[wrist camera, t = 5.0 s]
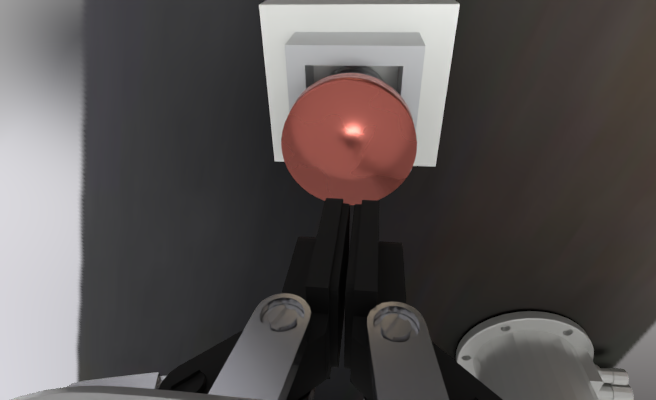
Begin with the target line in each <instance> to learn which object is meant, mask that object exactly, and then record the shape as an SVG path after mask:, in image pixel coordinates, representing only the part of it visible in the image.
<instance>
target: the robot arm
mask: <svg viewBox="0 0 656 400" xmlns="http://www.w3.org/2000/svg"><path fill="white" fill-rule="evenodd" d="M349 220H350V204H346V203H343V199H337V198H326V200H325V204H324V208H323V213H322V217H321V221H320V226H319V230H318V234H317V238H312V237H299V238H298V240H297V244H296V247H295V250H294V254H293V257H292V260H291V264H290V267H289V270H288V274H287V277H286V281H285V284H284V287H283V291H282V294H276V295H273V296H270V297H268V298H266V299H265V300H263V301H262V302H261V303H260V304H259V305H258V306H257V308H256V309H255V311H254V313H253V315H252V316H251V318H250V320H249V322H248V323H247V325H246V327H245V329H244V330H242V331H241V332H239V333H237V334H235V335H233V336H232V337H230V338H228V339H226V340H225V341H223V342H221V343H219V344H217V345H216V346H214V347H212V348H210V349H209V350H207V351H205V352H203V353H201V354H200V355H198V356H196V357H194V358H193V359H191V360H189V361H187V362H185V363H184V364H182V365H180V366H178V367H177V368H176V369H174V370H173V371H171V372H170V373H169V374H168V375H167V376H160V374H159V372H155V373H146V374H138V375H129V376H121V377H112V378H103V379H95V380H86V381H81V382H77V383H73V384H71V385H69V386H67V387H64V388H57V389H50V390H44V391H40V392H36V393H32V394H28V395H24V396H20V397H17V398H14V399H11V400H313V398H314V392H315V387H316V386H318V385H319V384H321V383H322V382H323V381H325V380H326V379H330V372H331V367H338V366H339V357H340V348H341V339H342V329H343V320H344V311H345V347H344V368H348V369H351V382H352V384H353V385H354V386H355V387H356V388H357V389H358V390H359V391H360V392H361V393H362V394H363V400H634V396H633V391H632V389H631V387H630V386H629V384H628V382H629V377H628V374H627V372H626V371H625V370H624V369H617V368H599V366H597V365H595V364H594V362H593V358H594V348H593V346H592V343H591V341H590V339H589V337H588V336H587V334H586V332H585V330H583V329H582V328H581V327H580V326H579V325H578V324H577V323H575V322H573V321H572V320H570V319H568V318H565V317H563V316H560V315H557V314H552V313H547V312H537V311H523V312H513V313H508V314H503V315H500V316H497V317H493V318H490V319H488V320H486V321H484V322H482V323H480V324H478V325H477V326H475V327H474V328H472V329H471V330H470V331H469V332H468V333H467V334H466V335H465V336H464V337H463V338H462V340H461V341H460V343H459V344H458V347H457V350H456V361H457V362H456V361H455V360H453V359H452V358H451V357H450V356H449V355H447V354H446V353H445V352H444V351H442V350H441V349H440V348H439V347H437V346H436V345H435V344H434V343H433V342H431V338H430V335H429V332H428V328H427V325H426V322H425V320H424V318H423V316H422V315H421V314H420V313H419V312H418V311H417V310H416V309H415V308H413V307H411V306H410V305H407V304H406V292H405V277H404V261H403V246H402V243H394V242H378V236H379V201H376V200H362V204H355V208H354V217H353V226H352V234H351V243H350V252H349Z"/></svg>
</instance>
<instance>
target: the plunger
mask: <svg viewBox="0 0 656 400" xmlns="http://www.w3.org/2000/svg"><path fill="white" fill-rule="evenodd" d="M281 148H282V154H283V158H284V161H285V164H286V166H287V168H288V170H289V172H290V174H291V175H292V177H293V178H294V179H295V180H296V182H297V183H298V184H299V185H300V186H301V187H302V188H303V189H305V190H306V191H307V192H309V193H310V194H312V195H314V196H315V197H317V198H319V199H322V200H324V201H325V200H326V198H337V199H343V203H346V204H350V205H355V204H362V200H379V199H381V198H383V197H385V196H387V195H388V194H390V193H392V192H393V191H394V190H395V189H397V188H398V187H399V186H400V185H401V184H402V183H403V181H404V180H405V179H406V177H407V176H408V175H409V173H410V171H411V169H412V167H413V164H414V161H415V157H416V152H417V138H416V132H415V127H414V122H413V118H412V115H411V112H410V110H409V107H408V106H407V104H406V102H405V101H404V99H403V98H402V97H401V96H400V94H399V93H398V92H397V91H395V90H394V89H393V88H392V87H391V86H389V85H388V84H386V83H385V82H384V81H383V79H382V78H381V76H380V75H379V74H378V73H377V72H375V71H374V70H373V69H371V68H369V67H366V66H344V67H341V68H339V69H337V70H336V71H334V72H333V73H332V74H331V75H330V76H328V77H325V78H322V79H320V80H318V81H316V82H315V83H313V84H312V85H310V86H309V87H308V88H307V89H305V90H304V91H303V92H302V93H301V95H300V96H299V97H298V98H297V100H296V101H295V103H294V104H293V106H292V108H291V110H290V112H289V115H288V117H287V119H286V121H285V123H284V127H283V131H282V137H281Z"/></svg>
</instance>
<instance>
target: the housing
mask: <svg viewBox="0 0 656 400" xmlns="http://www.w3.org/2000/svg"><path fill="white" fill-rule="evenodd" d="M459 6H460V4H459V3H458V2H457V1H456V0H266V1H264V2H263V3H261V4H259V10H260V20H261V30H262V40H263V50H264V60H265V70H266V80H267V90H268V100H269V110H270V120H271V130H272V140H273V150H274V160H275V161H281V162H285V161H284V158H283V154H282V148H281V137H282V131H283V127H284V123H285V121H286V119H287V117H288V115H289V112H290V110H291V108H292V106H293V104H294V103H295V101H296V100H297V98H298V97H299V96H300V95H301V93H302V92H303V91H304V90H305V89H307V88H308V87H309V86H310V85H312V84H313V83H315V82H316V81H318V80H320V79H322V78H325V77H328V76H330V75H331V74H332V73H333V72H334V71H336V70H337V69H339V68H341V67H344V66H366V67H369V68H371V69H373V70H374V71H375V72H377V73H378V74H379V75H380V76H381V78H382V79H383V81H384V82H385V83H386V84H388V85H389V86H391V87H392V88H393V89H394V90H395V91H397V92H398V93H399V94H400V96H401V97H402V98H403V99H404V101H405V102H406V104H407V106H408V107H409V110H410V112H411V115H412V118H413V122H414V127H415V132H416V138H417V152H416V157H415V161H414V164H413V166H434V167H436V160H437V153H438V147H439V140H440V133H441V127H442V120H443V113H444V107H445V100H446V93H447V87H448V80H449V73H450V66H451V60H452V53H453V46H454V40H455V33H456V26H457V20H458V13H459ZM411 170H412V169H411Z"/></svg>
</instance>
